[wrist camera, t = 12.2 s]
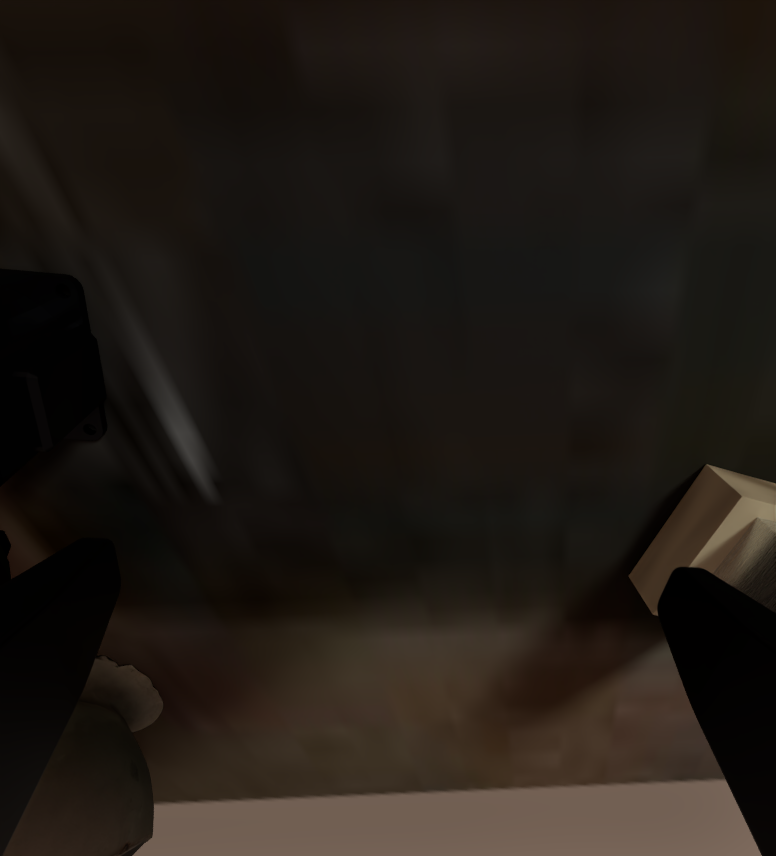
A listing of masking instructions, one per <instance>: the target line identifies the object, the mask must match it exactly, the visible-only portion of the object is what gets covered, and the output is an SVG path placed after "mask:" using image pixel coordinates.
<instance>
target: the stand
mask: <svg viewBox="0 0 776 856" xmlns="http://www.w3.org/2000/svg"><path fill="white" fill-rule="evenodd" d="M757 517H759V518H763V519H767V520H771V521H774V522H776V484H775V483H771V482H768V481H764V480H761V479H757V478H753V477H750V476H746V475H743V474H739V473H736V472H732V471H728V470H725V469H721V468H718V467H714V466H711V465H707V464H706V465H705V467H704V468H703V470H702V471H701V472H700V474H699V475H698V477H697V478H696V480H695V481H694V482H693V484H692V485H691V487H690V488H689V490H688V491H687V493H686V494H685V495H684V497H683V498H682V500H681V501H680V503H679V504H678V506H677V507H676V508H675V510H674V511H673V513H672V514H671V516H670V517H669V518H668V520H667V521H666V523H665V524H664V526H663V527H662V529H661V530H660V531H659V533H658V534H657V536H656V537H655V539H654V540H653V542H652V543H651V544H650V546H649V547H648V549H647V550H646V552H645V553H644V554H643V556H642V557H641V559H640V560H639V562H638V563H637V565H636V566H635V567H634V569H633V570H632V572H631V573H630V575H629V578H630V580H631V581H632V583H633V584H634V586H635V587H636V589H637V591H638V592H639V594H640V595H641V597H642V598H643V600H644V602H645V603H646V605H647V606H648V608H649V609H650V611H651V613H652V614H653V615H657V616H658V612H657V605H658V601H659V598H660V596H661V594H662V592H663V590H664V587H665V585H666V583H667V581H668V579H669V577H670V575H671V573H672V571H673V570H674V569H676V568H677V567H698V568H703V569H705V570H707V571H709V572H710V573H712V574H713V573H714V571H715V570H716V569H717V568H718V566H719V565H720V564H721V562H722V561H723V560H724V559H725V557H726V556H727V555H728V554H729V552H730V551H731V550H732V549H733V547H734V546H735V545H736V543H737V542H738V541H739V540H740V538H741V537H742V536H743V535H744V533H745V532H746V531H747V530H748V528H749V527H750V526H751V524H752V523H753V522H754V521H755V519H756V518H757Z"/></svg>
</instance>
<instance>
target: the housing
mask: <svg viewBox="0 0 776 856" xmlns="http://www.w3.org/2000/svg"><path fill="white" fill-rule="evenodd" d="M713 575H715V576H717V577H718V578H720V579H722V580H723V581H725V582H726V583H728V584H730V585H731V586H733V587H734V588H736V589H738V590H739V591H741V592H743V593H744V594H746V595H747V596H749V597H751V598H752V599H754V600H755V601H757V602H759V603H760V604H762V605H764V606H765V607H767V608H768V609H770V610H772V611H773V612H775V613H776V522H774V521H771V520H767V519H763V518H759V517H757V518H756V519H755V521H754V522H753V523H752V524H751V526H750V527H749V528H748V530H747V531H746V532H745V533H744V535H743V536H742V537H741V538H740V540H739V541H738V542H737V543H736V545H735V546H734V547H733V549H732V550H731V551H730V552H729V554H728V555H727V556H726V557H725V559H724V560H723V561H722V562H721V564H720V565H719V566H718V568H717V569H716V570H715V571H714V573H713Z"/></svg>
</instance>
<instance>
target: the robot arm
mask: <svg viewBox="0 0 776 856" xmlns="http://www.w3.org/2000/svg"><path fill="white" fill-rule="evenodd" d="M62 284H64V285H66V286H67V287H68V288H69V289H70V291H71V295H70V296H69V295H66V294H65V293H64V292H63V291H62V289H61V285H62ZM105 399H106V391H105V385H104V379H103V373H102V367H101V362H100V356H99V350H98V344H97V339H96V338H95V337H94V336H93V335H92V334H91V330H90V325H89V319H88V313H87V308H86V302H85V296H84V290H83V287H82V285H81V283H80V282H79V281H78V280H77V279H76V278H74V277H73V276H70V275H66V274H55V273H43V272H32V271H20V270H9V269H0V486H1V485H3V484H4V483H5V482H6V481H7V480H8V479H9V478H10V477H11V476H13V475H14V474H15V473H16V472H17V471H18V470H19V469H20V468H22V467H23V466H24V465H25V464H26V463H27V462H28V461H29V460H30V459H32V458H33V457H34V456H35V455H36V454H37V453H38V452H48V451H50V450H51V449H52V448H53V447H54V446H56V445H57V444H58V443H59V442H60V441H61V440H62V439H76V440H97V439H99V438H101V437H102V436H103V435H104V434H105V432H106V431H107V422H106V416H105V411H104V405H103V401H104V400H105ZM88 424H91V425H93V426H94V427H95V428H96V431H95V430H92V429H90V428H89V426H88ZM10 547H11V544H10V542H9V540H8V538H7V536H6V534H5V532H4V531H3V530H0V856H3V854H4V852H5V850H6V848H7V846H8V844H9V842H10V840H11V838H12V836H13V834H14V832H15V830H16V828H17V826H18V824H19V822H20V819H21V817H22V815H23V813H24V811H25V809H26V807H27V805H28V803H29V801H30V799H31V797H32V795H33V793H34V791H35V789H36V787H37V785H38V783H39V781H40V779H41V777H42V775H43V773H44V771H45V769H46V767H47V765H48V763H49V760H50V758H51V756H52V754H53V752H54V750H55V748H56V746H57V744H58V742H59V740H60V738H61V736H62V734H63V732H64V730H65V728H66V726H67V724H68V722H69V720H70V718H71V716H72V714H73V712H74V710H75V708H76V705H77V703H78V701H79V699H80V697H81V695H82V692H83V690H84V687H85V685H86V682H87V680H88V677H89V675H90V672H91V669H92V667H93V664H94V661H95V658H96V656H97V653H98V650H99V648H100V645H101V642H102V639H103V637H104V634H105V631H106V628H107V626H108V623H109V620H110V618H111V615H112V612H113V609H114V607H115V604H116V601H117V598H118V596H119V592H120V587H121V577H120V572H119V567H118V561H117V556H116V551H115V546H114V544H113V542H112V541H111V540H109V539H105V538H82V539H79V540H77V541H75V542H74V543H72V544H70V545H69V546H67V547H65V548H64V549H62V550H60V551H59V552H57V553H55V554H53V555H52V556H50V557H48V558H47V559H45V560H43V561H42V562H40V563H38V564H37V565H35V566H33V567H32V568H30V569H28V570H26V571H25V572H23V573H21V574H20V575H18V576H16V577H15V578H13V579H11V574H10V566H9V561H8V559H7V556H8V553H9V550H10ZM657 612H658V617H659V620H660V623H661V626H662V628H663V631H664V634H665V637H666V639H667V642H668V645H669V648H670V650H671V653H672V656H673V658H674V661H675V664H676V667H677V669H678V672H679V675H680V678H681V680H682V683H683V686H684V688H685V691H686V694H687V696H688V699H689V701H690V704H691V706H692V709H693V711H694V713H695V715H696V718H697V720H698V722H699V724H700V726H701V728H702V731H703V733H704V735H705V737H706V739H707V741H708V743H709V745H710V747H711V749H712V752H713V754H714V756H715V758H716V760H717V762H718V764H719V766H720V768H721V771H722V773H723V775H724V777H725V779H726V781H727V783H728V785H729V787H730V789H731V792H732V794H733V796H734V798H735V800H736V802H737V804H738V806H739V808H740V811H741V812H742V815H743V817H744V819H745V821H746V823H747V825H748V827H749V829H750V832H751V834H752V836H753V838H754V840H755V842H756V844H757V846H758V848H759V851H760V853H761V855H762V856H776V613H775V612H773V611H772V610H770V609H768V608H767V607H765V606H764V605H762V604H760V603H759V602H757V601H755V600H754V599H752V598H751V597H749V596H747V595H746V594H744V593H743V592H741V591H739V590H738V589H736V588H734V587H733V586H731V585H730V584H728V583H726V582H725V581H723V580H722V579H720V578H718V577H717V576H715V575H713V574H712V573H710V572H709V571H707V570H705V569H703V568H698V567H677V568H676V569H674V570H673V571H672V573H671V575H670V577H669V579H668V581H667V583H666V585H665V587H664V590H663V592H662V594H661V596H660V598H659V601H658V605H657Z"/></svg>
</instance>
